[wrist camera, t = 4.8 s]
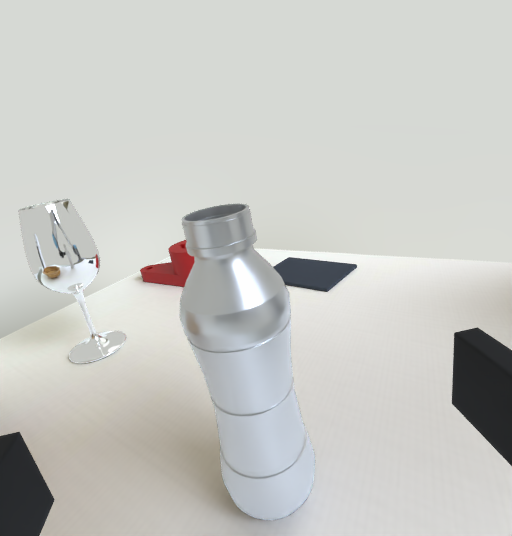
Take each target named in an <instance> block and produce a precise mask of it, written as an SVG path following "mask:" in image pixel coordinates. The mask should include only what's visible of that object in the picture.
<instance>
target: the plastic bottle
mask: <svg viewBox="0 0 512 536" xmlns="http://www.w3.org/2000/svg"><path fill="white" fill-rule="evenodd" d="M182 225H183V229H184V233H185V237H186V241H187V242H186V249H187V253H188V254H189V255H190V256H194V260H195V262H194V265H193V267H192V269H191V271H190V274H189V276H188V278H187V280H186V283H185V286H184V289H183V293H182V296H181V300H180V320H181V323H182V326H183V329H184V332H185V335H186V336H187V338H188V341H189V343H190V345H191V348H192V350H193V352H194V354H195V357H196V359H197V361H198V363H199V365H200V368H201V370H202V372H203V374H204V377H205V380H206V384H207V387H208V390H209V393H210V395H211V399H212V402H213V405H214V408H215V414H216V420H217V426H218V432H219V438H220V461H221V470H222V477H223V481H224V484H225V486H226V488H227V490H228V492H229V494H230V495H231V497H232V499H233V501H234V503H235V504H236V505H237V506H238V508H239V509H240V510H241V511H243V512H244V513H246V514H247V515H249V516H251V517H254V518H257V519H263V520H277V519H281V518H284V517H286V516H288V515H290V514H292V513H293V512H294V511H296V510H297V509H298V508H299V507H300V506H301V505H302V504H303V503H304V502H305V501H306V499H307V498H308V496H309V494H310V492H311V489H312V486H313V482H314V472H315V454H314V450H313V447H312V444H311V441H310V438H309V435H308V432H307V429H306V427H305V425H304V423H303V420H302V417H301V413H300V409H299V405H298V401H297V397H296V394H295V390H294V380H293V371H292V361H291V317H290V313H291V309H290V297H289V292H288V290H287V288H286V286H285V283H284V281H283V279H282V277H281V276H280V275H279V274H278V272H277V271H276V270H275V269H274V268H273V267H272V266H271V265H270V263H268V262H267V261H266V260H265V259H264V258H263V257H262V256H261V255H260V254H259V253H257V252H256V251H255V250H254V248H253V245H252V244H254V243H255V242H256V240H257V236H256V231H255V229H253V225H252V219H251V213H250V209H249V206H248V205H246V204H228V205H220V206H214V207H210V208H206V209H202V210H198V211H195V212H192V213H190V214H188V215H186V216H184V217H183V218H182Z"/></svg>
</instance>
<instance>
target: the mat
mask: <svg viewBox="0 0 512 536" xmlns="http://www.w3.org/2000/svg"><path fill="white" fill-rule="evenodd" d="M356 267H357V265H356V264H347V263H338V262H328V261H319V260H310V259H300V258H291V257H289V258H287V259H285V260H284V261H282V262H280V263H279V264H277V265H276V266H274V267H273V268H274V269H275V270H276V271H277V272H278V274H279V275H280V276H281V277H282V279H283V281H284V283H285V285H291V286H297V287H303V288H309V289H314V290H320V291H326V292H328V291H329V290H330V289H331V288H332V287H334V286H335V285H336V284H337V283H338V282H340V281H341V280H342V279H343V278H344V277H346V276H347V275H348V274H349V273H350V272H352V271H353V270H354V269H355V268H356Z"/></svg>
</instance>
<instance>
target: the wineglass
mask: <svg viewBox="0 0 512 536" xmlns="http://www.w3.org/2000/svg"><path fill="white" fill-rule="evenodd" d="M18 212H19V219H20V225H21V232H22V238H23V243H24V249H25V253H26V257H27V260H28V263H29V267H30V269H31V272H32V274H33V275H34V277H35V278H36V280H37V281H38V282H39V283H40V284H41V285H43V286H45V287H46V288H48V289H50V290H53V291H56V292H59V293H67V294H68V293H69V294H70V293H71V294H73V295H74V297H75V298H76V300H77V301H78V303H79V305H80V308H81V310H82V313H83V315H84V318H85V320H86V323H87V326H88V328H89V331H90V337H89V338H87V339H85V340H83V341H82V342H80V343H79V344H77V345H76V346H75V347H74V348H73V349H72V350H71V351H70V353H69V359H70V361H72V362H74V363H89V362H93V361H97V360H100V359H102V358H105V357H107V356H109V355H111V354H112V353H114V352H115V351H117V350H118V349H119V348H121V347H122V345H123V344H124V343H125V341H126V338H127V337H126V335H125V333H123V332H121V331H107V332H102V333H99V334H98V333H97V332H96V330H95V328H94V325H93V323H92V320H91V317H90V315H89V312H88V309H87V306H86V303H85V300H84V294H83V290H84V289H85V288H86V287H87V286H89V285H90V283H92V281H93V280H94V278H95V277H96V275H97V273H98V270H99V267H100V257H99V253H98V249H97V247H96V245H95V242H94V241H93V238H92V236H91V234H90V233H89V231H88V229H87V227H86V226H85V224H84V222H83V220H82V219H81V217H80V215H79V214H78V212H77V211H76V209H75V207H74V206H73V204H72V203H71V201H70V200H69V199H63V200H57V201H52V202H47V203H42V204H38V205H33V206H29V207H25V208H22V209H20V210H19V211H18Z"/></svg>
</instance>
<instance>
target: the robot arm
mask: <svg viewBox="0 0 512 536" xmlns="http://www.w3.org/2000/svg"><path fill="white" fill-rule="evenodd" d="M452 404H453V405H454V406H455V407H456V408H457V409H458V410H459V411H460V412H461V413H462V414H463V415H464V417H465V418H466V419H467V420H468V421H469V422H470V423H471V424H472V425H473V426H474V427H475V428H476V429H477V430H478V431H479V432H480V433H481V434H482V435H483V436H484V437H485V438H486V440H487V441H488V442H489V443H490V444H491V445H492V446H493V447H494V448H495V449H496V450H497V451H498V452H499V453H500V454H501V455H502V456H503V457H504V458H505V459H506V460H507V461H508V463H509V464H510V465H511V466H512V350H510V349H509V348H507V347H506V346H504V345H503V344H501V343H500V342H498V341H497V340H495V339H494V338H492V337H491V336H489V335H488V334H486V333H485V332H483V331H482V330H480V329H479V328H474V329H469V330H465V331H460V332H456V333H454V360H453V389H452ZM53 502H54V498H53V496H52V494H51V492H50V490H49V488H48V486H47V484H46V482H45V480H44V479H43V477H42V475H41V473H40V471H39V469H38V467H37V465H36V463H35V461H34V459H33V457H32V455H31V454H30V452H29V450H28V448H27V446H26V444H25V442H24V440H23V438H22V436H21V434H20V432H16V433H12V434H8V435H3V436H0V536H39V535H40V533H41V530H42V528H43V526H44V523H45V521H46V519H47V516H48V514H49V512H50V509H51V507H52V505H53Z"/></svg>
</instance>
